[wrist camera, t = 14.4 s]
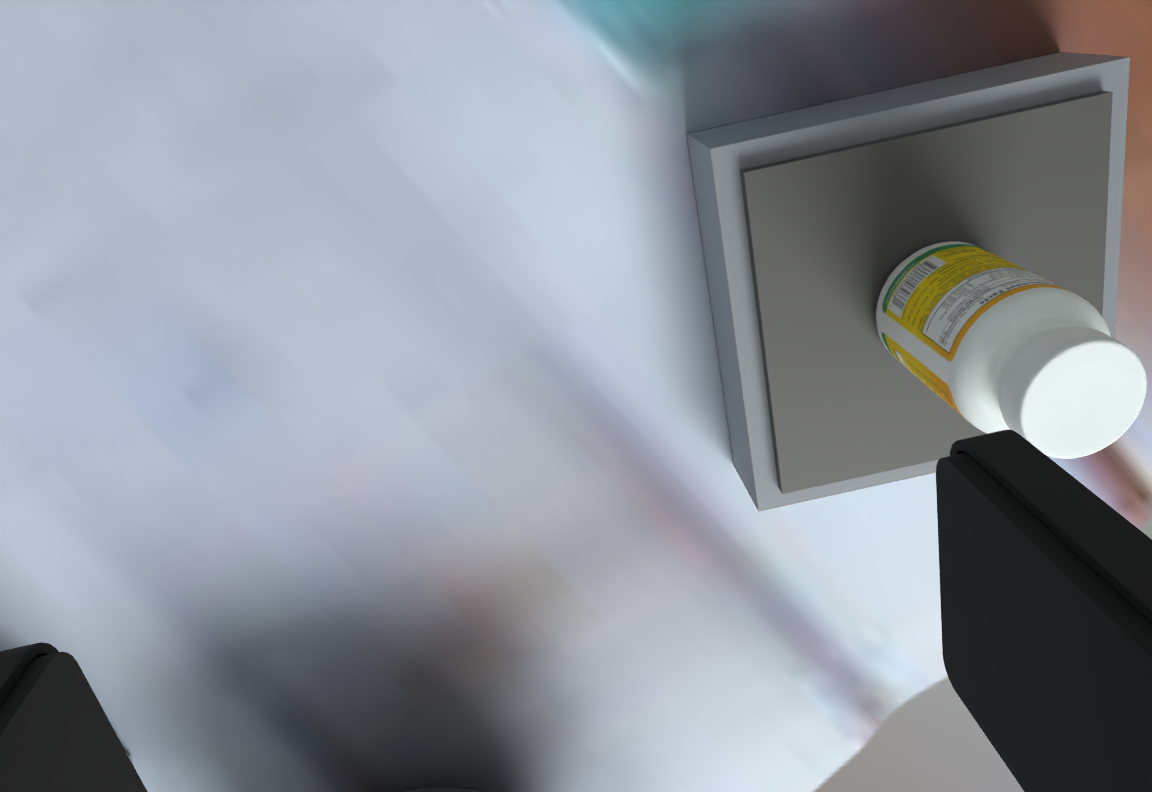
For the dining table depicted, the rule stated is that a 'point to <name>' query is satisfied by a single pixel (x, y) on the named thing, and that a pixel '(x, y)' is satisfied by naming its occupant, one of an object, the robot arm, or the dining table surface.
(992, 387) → the supplement bottle
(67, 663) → the robot arm
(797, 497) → the plinth
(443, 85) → the dining table surface
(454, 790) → the coal bowl
